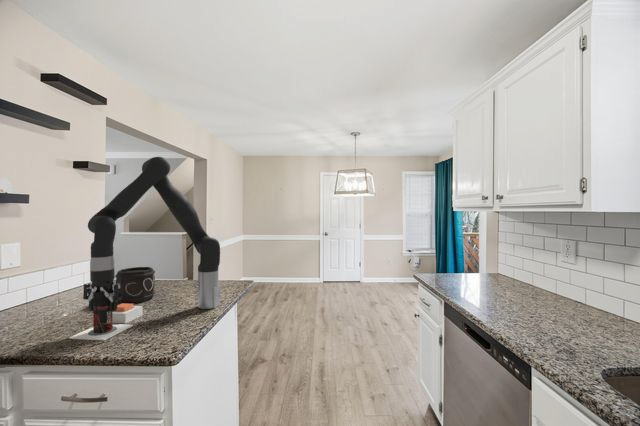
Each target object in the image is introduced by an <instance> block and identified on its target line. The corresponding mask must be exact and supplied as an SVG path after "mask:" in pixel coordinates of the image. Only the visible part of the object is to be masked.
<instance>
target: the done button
mask: <svg viewBox="0 0 640 426" xmlns="http://www.w3.org/2000/svg"><path fill="white" fill-rule="evenodd" d="M134 306H135V304H127V303H122V304H121V303H119V304H117V309H116V311H115V312H126V311H128V310H130V309H133V308H134Z"/></svg>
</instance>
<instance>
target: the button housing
mask: <svg viewBox="0 0 640 426" xmlns="http://www.w3.org/2000/svg"><path fill="white" fill-rule="evenodd" d="M143 308H144V307H143V305H134V308H133V309H130V310H128V311H126V312H115V311H113V312H112V315H113V324H127V323H129V322H131V321H133V320H136V319H137V318H139V317H142V316H143V315H144V314H143Z"/></svg>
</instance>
